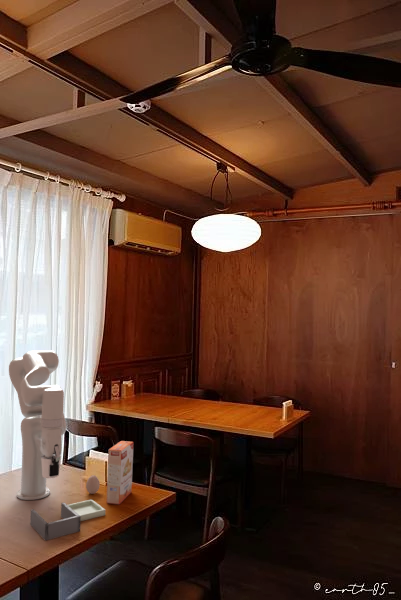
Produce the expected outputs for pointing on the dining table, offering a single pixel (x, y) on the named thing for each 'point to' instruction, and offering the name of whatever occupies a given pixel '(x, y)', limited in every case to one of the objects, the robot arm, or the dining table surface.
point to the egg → (92, 484)
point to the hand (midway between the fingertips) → (50, 472)
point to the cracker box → (119, 472)
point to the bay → (56, 523)
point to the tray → (87, 509)
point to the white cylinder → (47, 466)
